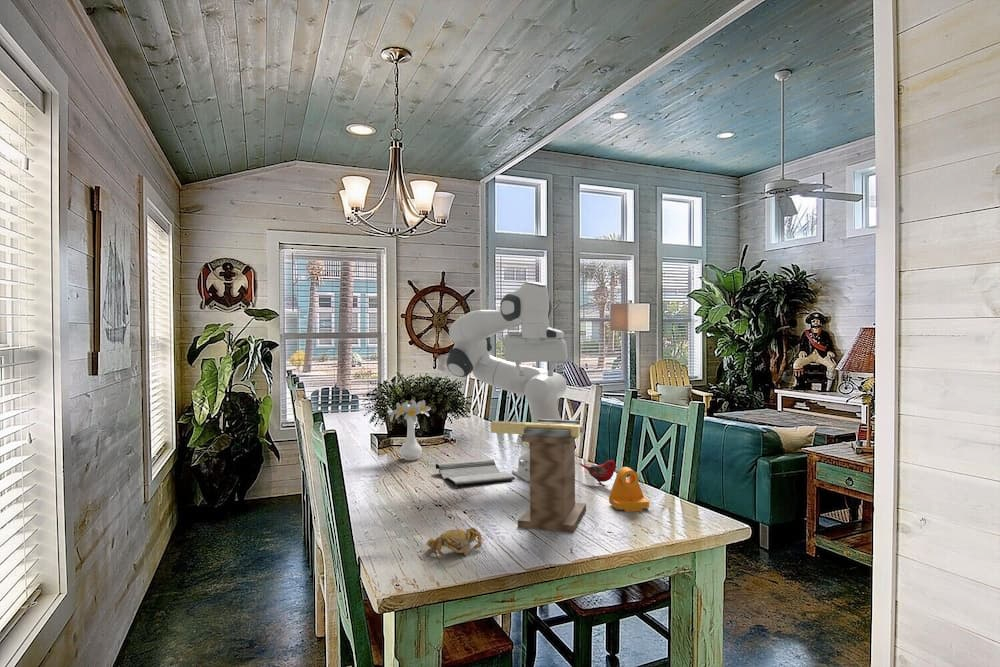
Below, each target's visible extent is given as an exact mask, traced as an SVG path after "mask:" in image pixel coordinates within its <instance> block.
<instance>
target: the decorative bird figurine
mask: <svg viewBox="0 0 1000 667" xmlns="http://www.w3.org/2000/svg"><path fill="white" fill-rule="evenodd" d="M579 465H580V466H582V467H583V468H584V469H585V470H586V471H588V472H587V473H589V475H590V476H591V477H593V479H594V480H596V481H597V483H596V484H597V485H599V486H602V487H609V486H608V485H606V484H603V483H604V482H607V481H609V480H611V479H612V477H614V476H613V475H614V472H615V470H616V469H617V468H618V467H617V465H616V462H615V461H614V460H613V459H609V460H607V461H605V462H604V463H602V464H596V465H591V466H588V465H585V464H583V463H581V462H580V463H579ZM602 482H603V483H602Z"/></svg>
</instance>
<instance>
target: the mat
mask: <svg viewBox="0 0 1000 667" xmlns="http://www.w3.org/2000/svg"><path fill="white" fill-rule="evenodd" d="M435 469H436V470H439V472H438V474H440V476H441V477H442V478H443V480H447V479H448V480H449V481H451V482H453V483H454V484H455V486H457V487H458V488H459V487H460V486H462V485H463V486H464V485H471V484H481V483H493V482H503V481H504V482H505V481H509V482H512V481H513V480H516V478H515V476H514V475H512V474H511V473H509V472H507V471H502V472H500V471H499V469H498V466H497V465H496V462H495V459H493V458H486V459H475V460H462V461H449V462H448V461H447V462H439V463H435Z"/></svg>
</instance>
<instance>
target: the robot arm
mask: <svg viewBox="0 0 1000 667" xmlns="http://www.w3.org/2000/svg"><path fill="white" fill-rule="evenodd" d="M499 306H500V307H499V308H500V310H499V309H497V310H496V309H493V310H492V309H478V310H477V309H476V310H472V311H469V312H467V313H464V314H463V315H461V316H460V317H458V318H457V319H455V321H453V323H451V325H450V326H449V329H448V330H449V331H448V335H449V338H450V340H451V341H452V343H453V344H454V345H453V347H452V349H449V351H448V356H447V359H446V367H447V369H448V371H449V372H450V373H451V374H452V375H454V376H456V377H458V378H459V377H460V378H465V377H467V376H469V375H470V374H471V373H472V374H473V376H474V378H475V379H478V380H479V381H480V382H483V383H485V384H486V385H489V386H492V387H494V388H498V389H500V390H503V391H505V392H506V391H507V392H510V393H513V394H520V395H524V396H525V398H526V399H527V403H528V407H529V411H530V417H531V423H534V422H538V419H554V420H562V417H561V415H560V411H559V406H558V400H559V399H561V398H562V397H563V395H564V394H565V392H566V390H567V387H568V386H567V381H566V378H565V377H564V376H563V375H562V374H561V373H558V372H554V371H555V369H556V367H557V363H565V362H567V360H568V358H569V356H568V346H567V342H566V340H565V339H564V336H565V333H564V331H562V330H560V329H557V328H554V327H550V320H549V317H550V315H551V313H552V308H553V307H552V303H551V300H550V298H549V290H548V287H547V285H546V284H545V283H543V282H538V281H525V282H523V283H522V285H521V286H520V287H519V288H518V289H517V290H514V291H512V292H510V293H507V294H505V295H504V296H503V297H502V299H501V301H500V305H499ZM520 325H521V332H508V333H507V334H506V335H504V338H503V340H504V342H503V343H504V356H503V357H504V358H500V357H495V356H493V355H492V354H491V353H490V351H492V349H493V345H492V344H491V342H492V340H491V339H492V338H491V337H492V336H494V335H496V334H499V333H501V332H503V331H505V330H508V329H511V328H514V327H516V326H520ZM522 362H523V363H524V362H526V363H527V362H528V363H529V362H531V363H534V362H535V363H537V362H538V363H539V362H541V363H543V362H545V363H548V362H549V363H550V366H551V368H550V370H546V369H543V368H538V367H533V366H529V365H523V364H522ZM527 444H529V446H528V449H527V450H526V451H525V452H523V454H522V455H520V456H519V458H518V464H517V467H516V468H513V469H512V470H511V473H512V474H514V475H515V476H517V477H519V478H520V479H522V480H524V482H525V481H526V482H530V442H527Z"/></svg>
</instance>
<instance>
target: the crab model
mask: <svg viewBox="0 0 1000 667" xmlns="http://www.w3.org/2000/svg"><path fill="white" fill-rule="evenodd" d="M476 539H477V544H475V545H474V546H473V548H474V549H477V548H479V547H481V546H482V544H483V541H482V533H480V531H478V529H477V528H475V527H470V528H468V529H466V531H464V530H463V529H461V528H456V529H450V530H447V531H445V532H443V533H441V534H440V536H438V537H436V538H435V539H434V538H429V539H428V540H427V541H426V545H427V546H428V547H429V548H430V549H431V551H432V553H433V554H434V555H436V556H438V554H439V555H440V556H442V557H445V554H444V552H443V551H442V548H443V546H444V547H446V548H448V549H449V550H451V551H452V552H454V553H457V554H464V555H465V557H467V556H470V555H471V554H470V552H471V551H472V548H471V547H470V543H472V542H474V541H475V540H476ZM457 547H458V548H457ZM435 549H436V550H435Z"/></svg>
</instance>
